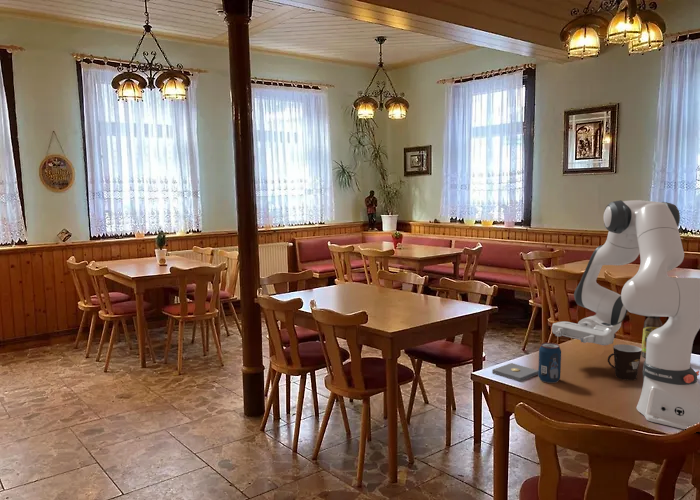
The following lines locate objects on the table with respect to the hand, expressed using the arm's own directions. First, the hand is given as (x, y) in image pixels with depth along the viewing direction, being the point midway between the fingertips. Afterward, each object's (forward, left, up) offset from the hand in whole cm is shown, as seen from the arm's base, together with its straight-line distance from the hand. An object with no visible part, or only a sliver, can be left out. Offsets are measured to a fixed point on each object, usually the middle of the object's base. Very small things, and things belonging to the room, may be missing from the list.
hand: (569, 337), depth 197 cm
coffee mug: (-14, -9, -12) cm, 21 cm away
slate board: (+11, +15, -12) cm, 22 cm away
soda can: (0, +12, -12) cm, 18 cm away
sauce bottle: (-11, -38, -12) cm, 41 cm away
